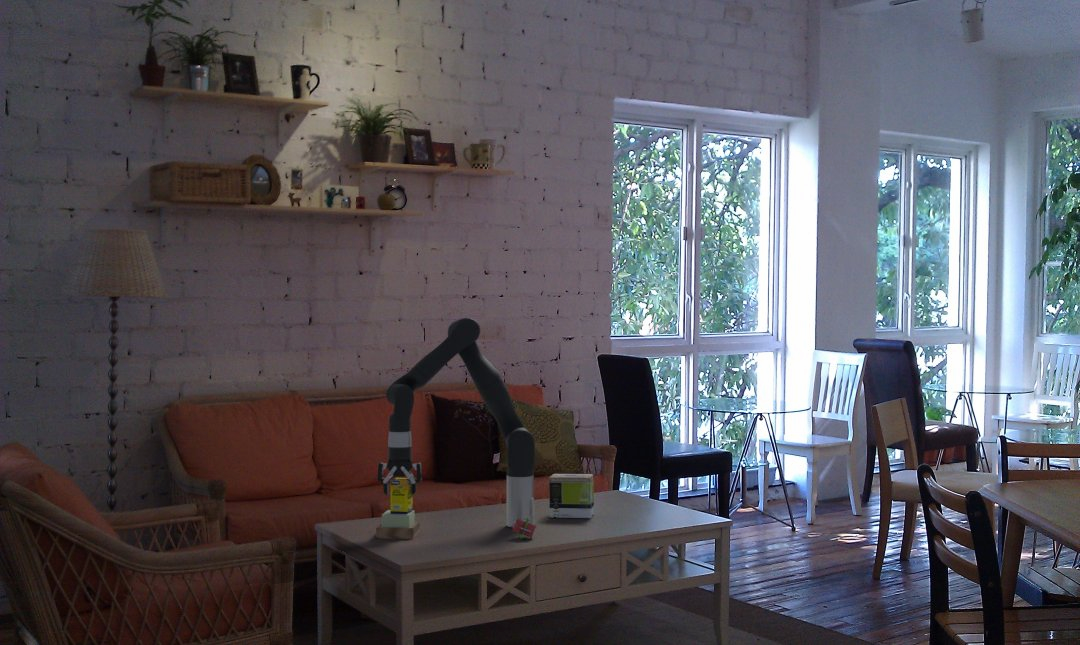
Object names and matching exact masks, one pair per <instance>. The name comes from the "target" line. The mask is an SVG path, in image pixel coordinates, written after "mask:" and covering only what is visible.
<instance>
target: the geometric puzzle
mask: <svg viewBox="0 0 1080 645" xmlns="http://www.w3.org/2000/svg"><path fill="white" fill-rule="evenodd" d="M524 520H526V522H524V521H521V520H519V519H516V521H514V523H513V525H512V526H513V527H514V528H513V527H512V532H513V533H514V534H515V535H517V534H518V538H520V540H523V539H528V538H529V539H532V538H533V536H534V533H535V530H536V528H537V525H536V524H535V523H534V525H533V524H530V522H529V523H528V521H529V519H528V518H527V519H524ZM532 523H533V522H532Z"/></svg>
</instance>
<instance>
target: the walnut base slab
mask: <svg viewBox="0 0 1080 645" xmlns="http://www.w3.org/2000/svg"><path fill="white" fill-rule="evenodd" d="M420 527H421V522H420V520H419V521H417V520H415V523H414V524H413V525H412V526H410V527H409V528H396V527H382V522H381V523H380V524H379V525H377V526H376V528H375V529H376V534H375V535H376V536H375V538H376V539H390V540H391V539H392V540H393V539H398V540H399V539H406V540H407V539H408V540H409V539H410V540H414V539H415V537H417V535H418V534H419V533H420V532H421V528H420Z"/></svg>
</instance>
